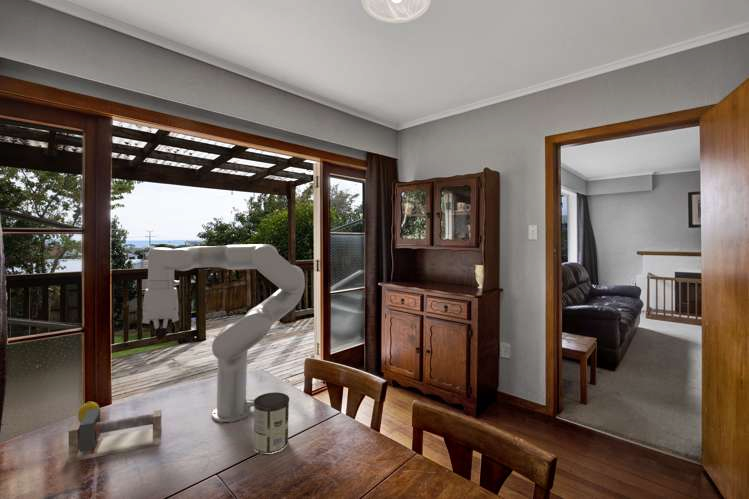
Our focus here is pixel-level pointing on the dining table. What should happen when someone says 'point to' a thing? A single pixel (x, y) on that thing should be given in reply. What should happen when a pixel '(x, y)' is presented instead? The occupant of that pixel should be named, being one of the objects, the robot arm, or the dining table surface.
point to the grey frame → (89, 430)
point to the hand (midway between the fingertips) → (160, 339)
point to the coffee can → (271, 422)
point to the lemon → (86, 409)
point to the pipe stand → (117, 436)
